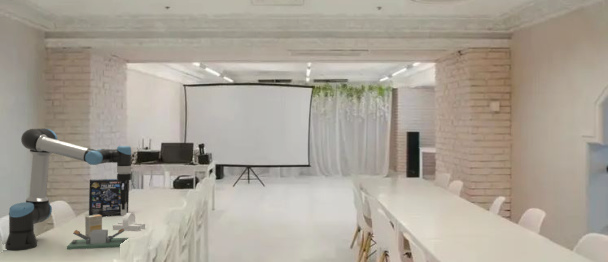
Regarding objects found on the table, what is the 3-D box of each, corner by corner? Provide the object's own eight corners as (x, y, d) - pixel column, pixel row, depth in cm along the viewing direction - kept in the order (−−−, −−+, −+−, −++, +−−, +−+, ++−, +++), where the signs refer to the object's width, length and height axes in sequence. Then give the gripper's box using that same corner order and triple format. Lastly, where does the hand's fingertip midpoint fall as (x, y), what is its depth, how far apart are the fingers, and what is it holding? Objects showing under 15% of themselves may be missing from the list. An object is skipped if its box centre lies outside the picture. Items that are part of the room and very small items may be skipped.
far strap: (107, 241, 277) (106, 239, 277) (109, 239, 282) (107, 237, 282) (123, 232, 279) (122, 229, 279) (124, 230, 284) (123, 227, 284)
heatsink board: (66, 249, 267) (66, 235, 267) (73, 242, 283) (73, 229, 283) (125, 246, 274) (125, 233, 274) (128, 240, 290) (128, 227, 290)
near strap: (90, 240, 280) (92, 237, 280) (88, 242, 275) (90, 239, 275) (74, 232, 278) (76, 229, 278) (72, 234, 273) (74, 231, 273)
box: (128, 213, 372) (128, 178, 372) (129, 215, 366) (129, 179, 366) (88, 216, 360) (88, 179, 360) (89, 218, 354) (89, 180, 354)
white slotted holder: (138, 231, 313) (138, 214, 313) (112, 230, 316) (112, 213, 316) (145, 228, 323) (145, 212, 322) (119, 227, 325) (120, 211, 325)
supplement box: (98, 235, 300) (98, 214, 300) (102, 236, 297) (102, 215, 297) (84, 237, 294) (85, 215, 294) (88, 239, 291) (89, 216, 291)
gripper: (129, 174, 274) (129, 217, 274) (132, 171, 290) (132, 211, 290) (115, 174, 272) (114, 217, 272) (118, 171, 288) (118, 212, 288)
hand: (123, 214), depth 281 cm, fingers open, 3 cm apart
